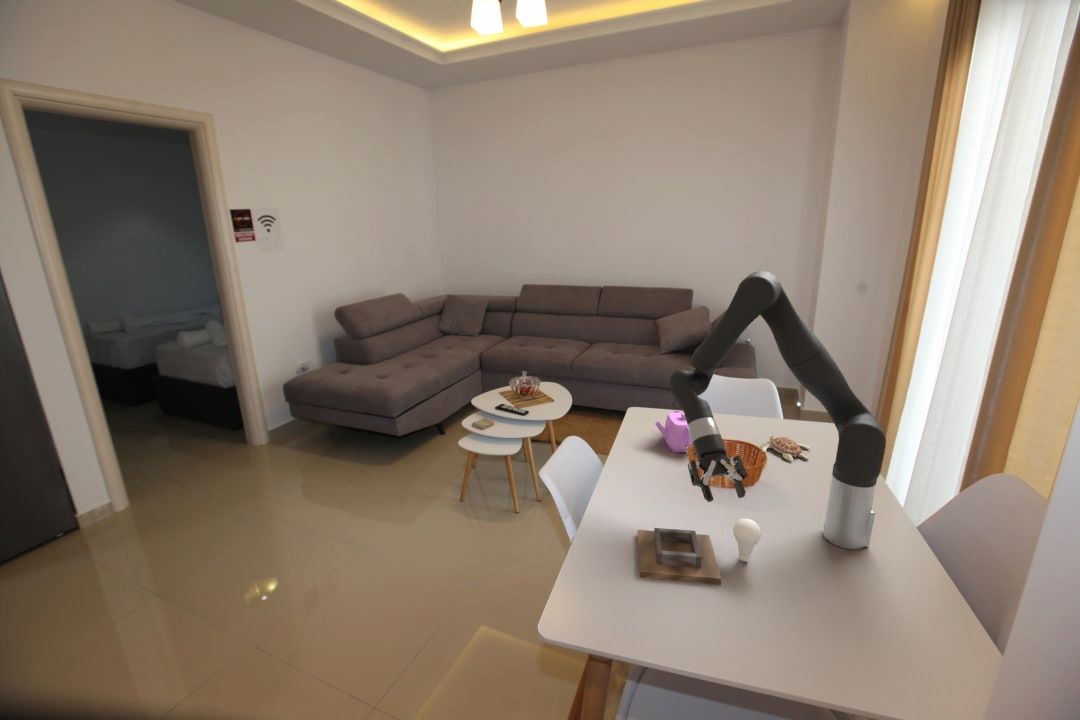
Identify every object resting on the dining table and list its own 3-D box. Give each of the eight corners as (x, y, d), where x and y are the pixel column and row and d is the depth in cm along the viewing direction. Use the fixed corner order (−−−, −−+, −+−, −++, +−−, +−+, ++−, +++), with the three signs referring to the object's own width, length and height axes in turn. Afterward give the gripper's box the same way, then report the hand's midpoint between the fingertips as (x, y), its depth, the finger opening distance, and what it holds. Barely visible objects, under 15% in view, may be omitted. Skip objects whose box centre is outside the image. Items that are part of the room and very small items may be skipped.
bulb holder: (708, 540, 124) (709, 524, 123) (721, 584, 109) (722, 567, 108) (637, 534, 127) (637, 519, 126) (639, 577, 112) (640, 560, 110)
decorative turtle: (793, 440, 180) (794, 427, 178) (824, 460, 164) (826, 447, 163) (747, 444, 178) (748, 431, 176) (774, 465, 162) (776, 451, 160)
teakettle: (693, 459, 166) (695, 426, 163) (650, 445, 178) (652, 414, 174) (715, 443, 178) (718, 412, 174) (674, 431, 189) (676, 401, 186)
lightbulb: (760, 570, 113) (765, 529, 110) (732, 567, 114) (736, 527, 111) (754, 553, 118) (759, 514, 115) (728, 551, 120) (732, 512, 117)
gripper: (686, 435, 124) (706, 499, 116) (737, 430, 126) (759, 492, 118) (676, 445, 130) (694, 506, 122) (724, 440, 132) (745, 499, 125)
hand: (726, 499), depth 120 cm, fingers open, 8 cm apart
